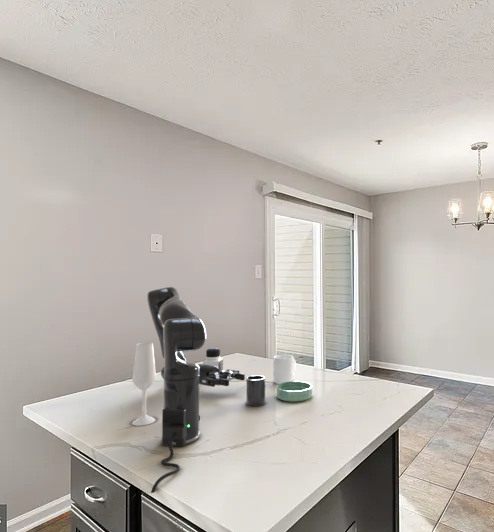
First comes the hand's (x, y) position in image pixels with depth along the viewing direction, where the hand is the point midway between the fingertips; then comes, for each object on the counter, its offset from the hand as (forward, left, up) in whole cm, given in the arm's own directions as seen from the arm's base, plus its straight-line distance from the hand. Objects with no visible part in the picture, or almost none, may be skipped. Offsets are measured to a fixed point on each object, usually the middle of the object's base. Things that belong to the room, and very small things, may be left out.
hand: (236, 380), depth 138 cm
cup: (-3, -8, -7) cm, 11 cm away
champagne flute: (-24, +21, -7) cm, 32 cm away
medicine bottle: (+30, +23, -7) cm, 38 cm away
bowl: (+6, -20, -7) cm, 22 cm away
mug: (+26, -12, -7) cm, 30 cm away
